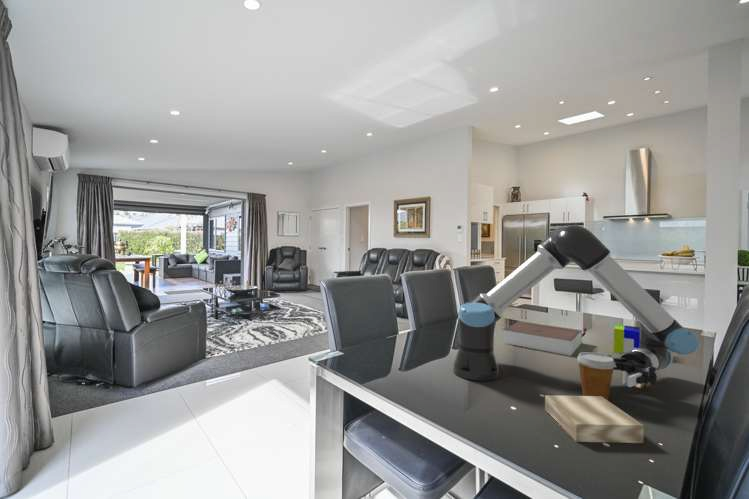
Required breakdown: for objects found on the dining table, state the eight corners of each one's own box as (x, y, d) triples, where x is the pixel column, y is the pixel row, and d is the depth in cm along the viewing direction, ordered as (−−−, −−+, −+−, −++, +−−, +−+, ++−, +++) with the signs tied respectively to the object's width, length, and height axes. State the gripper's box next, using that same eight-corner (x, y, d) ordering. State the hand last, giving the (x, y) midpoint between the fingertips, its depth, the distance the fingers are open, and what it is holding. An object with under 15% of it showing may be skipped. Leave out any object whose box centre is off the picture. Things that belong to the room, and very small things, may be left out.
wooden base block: (576, 441, 78) (576, 424, 78) (544, 410, 93) (545, 395, 93) (643, 443, 78) (643, 425, 78) (601, 411, 93) (601, 396, 93)
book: (518, 334, 176) (518, 321, 176) (581, 344, 158) (582, 330, 158) (501, 344, 157) (501, 330, 157) (571, 357, 140) (571, 341, 139)
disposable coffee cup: (603, 391, 106) (603, 352, 106) (622, 405, 96) (623, 363, 96) (570, 389, 107) (571, 351, 107) (586, 404, 97) (586, 361, 97)
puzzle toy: (643, 357, 140) (644, 332, 140) (613, 352, 146) (614, 328, 146) (643, 351, 148) (644, 327, 148) (614, 346, 154) (615, 324, 154)
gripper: (687, 388, 102) (652, 403, 91) (598, 362, 123) (561, 372, 113) (688, 362, 102) (653, 375, 91) (598, 341, 123) (562, 349, 113)
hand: (602, 373), depth 102 cm, fingers open, 13 cm apart
